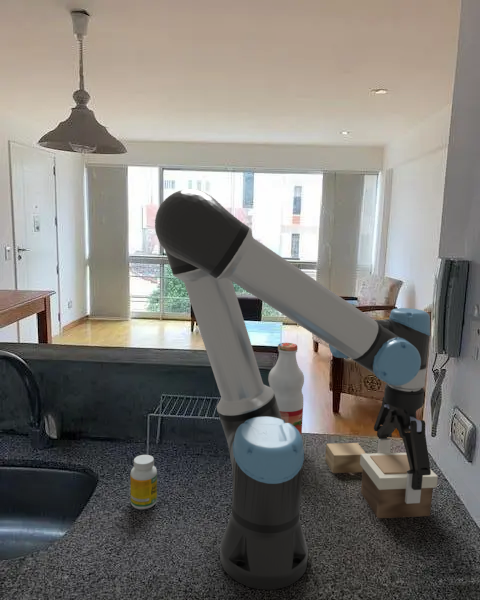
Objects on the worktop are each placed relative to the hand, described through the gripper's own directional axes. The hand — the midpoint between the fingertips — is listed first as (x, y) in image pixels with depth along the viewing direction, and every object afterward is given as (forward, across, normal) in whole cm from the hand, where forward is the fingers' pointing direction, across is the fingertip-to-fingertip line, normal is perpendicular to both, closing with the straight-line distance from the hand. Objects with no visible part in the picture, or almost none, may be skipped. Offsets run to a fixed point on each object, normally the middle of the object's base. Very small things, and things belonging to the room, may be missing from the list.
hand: (396, 483), depth 97 cm
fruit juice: (+5, +27, +18) cm, 33 cm away
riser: (+5, +16, +5) cm, 18 cm away
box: (+5, 0, 0) cm, 5 cm away
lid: (-2, 0, 0) cm, 2 cm away
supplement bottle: (+5, +5, +52) cm, 53 cm away
